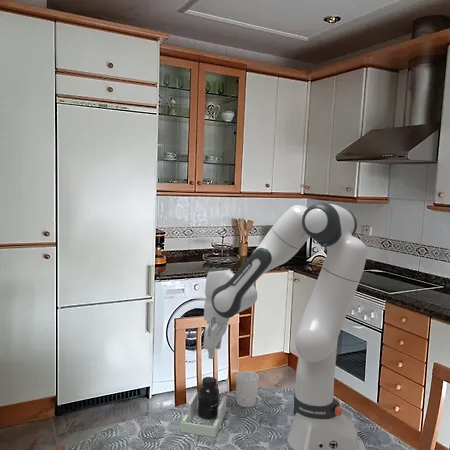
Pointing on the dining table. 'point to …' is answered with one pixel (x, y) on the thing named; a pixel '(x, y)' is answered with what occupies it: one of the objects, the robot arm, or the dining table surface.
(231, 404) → the dining table surface
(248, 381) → the white cup
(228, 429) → the dining table surface
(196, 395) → the channel
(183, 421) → the dock
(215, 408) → the supplement bottle
